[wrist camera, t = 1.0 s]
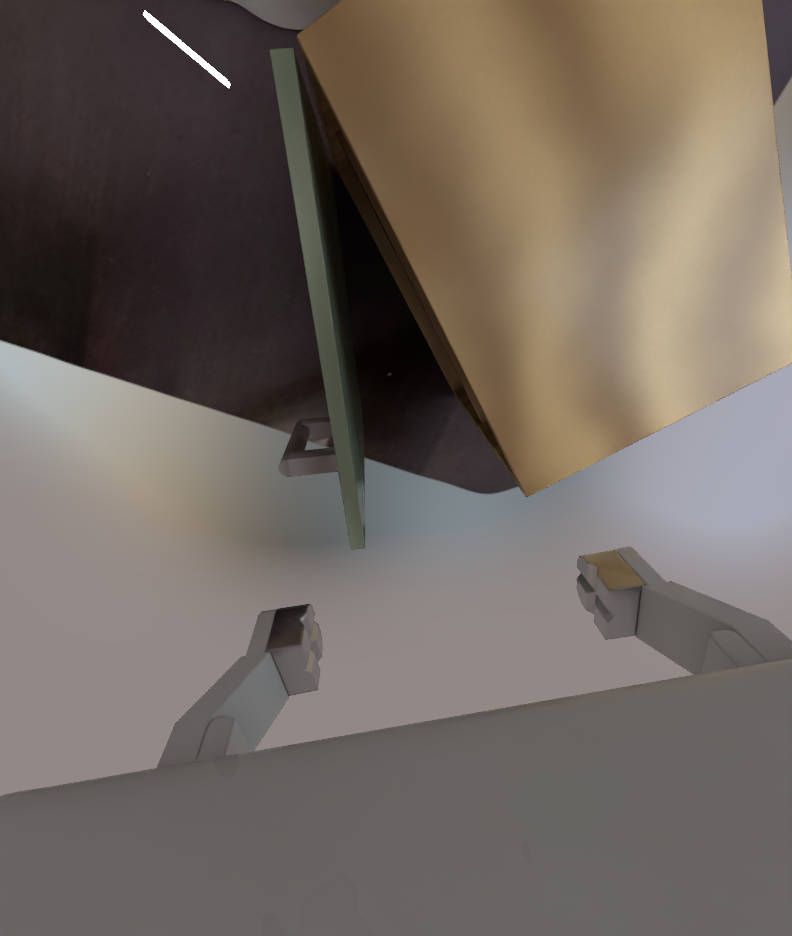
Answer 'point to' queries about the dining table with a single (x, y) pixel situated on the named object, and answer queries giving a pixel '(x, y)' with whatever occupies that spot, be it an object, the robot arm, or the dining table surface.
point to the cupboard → (567, 205)
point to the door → (322, 302)
